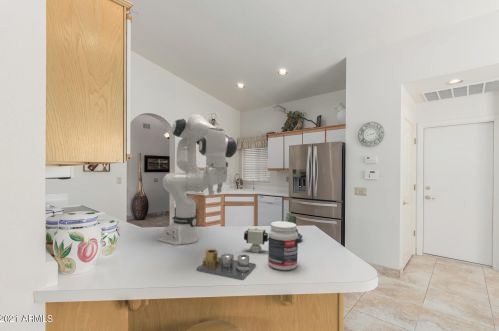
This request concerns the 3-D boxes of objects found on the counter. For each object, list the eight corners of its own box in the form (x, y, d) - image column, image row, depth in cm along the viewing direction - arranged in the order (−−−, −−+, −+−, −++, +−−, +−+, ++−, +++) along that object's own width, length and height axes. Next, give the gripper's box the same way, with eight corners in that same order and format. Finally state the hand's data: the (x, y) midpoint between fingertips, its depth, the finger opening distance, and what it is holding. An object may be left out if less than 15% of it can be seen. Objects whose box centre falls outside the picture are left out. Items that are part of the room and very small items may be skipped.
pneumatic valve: (266, 254, 126) (267, 230, 126) (243, 252, 129) (243, 228, 128) (267, 250, 132) (268, 227, 132) (245, 248, 134) (246, 225, 134)
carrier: (196, 270, 106) (196, 254, 106) (213, 259, 119) (213, 244, 119) (243, 280, 98) (243, 262, 98) (255, 266, 111) (256, 251, 111)
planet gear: (201, 265, 108) (201, 254, 108) (204, 259, 115) (204, 248, 115) (218, 266, 107) (219, 254, 107) (221, 259, 115) (221, 248, 115)
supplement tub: (291, 274, 104) (292, 229, 104) (263, 267, 110) (263, 225, 110) (301, 263, 115) (302, 223, 115) (275, 257, 122) (275, 219, 121)
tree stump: (263, 237, 157) (270, 208, 159) (292, 243, 161) (299, 215, 163) (272, 244, 140) (279, 212, 141) (305, 251, 144) (312, 220, 145)
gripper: (213, 163, 105) (212, 197, 105) (229, 163, 125) (228, 191, 125) (199, 163, 106) (198, 196, 107) (217, 163, 126) (216, 191, 126)
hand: (215, 193), depth 116 cm, fingers open, 8 cm apart
